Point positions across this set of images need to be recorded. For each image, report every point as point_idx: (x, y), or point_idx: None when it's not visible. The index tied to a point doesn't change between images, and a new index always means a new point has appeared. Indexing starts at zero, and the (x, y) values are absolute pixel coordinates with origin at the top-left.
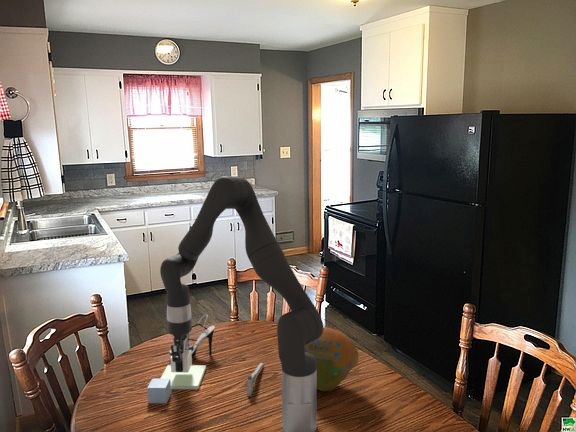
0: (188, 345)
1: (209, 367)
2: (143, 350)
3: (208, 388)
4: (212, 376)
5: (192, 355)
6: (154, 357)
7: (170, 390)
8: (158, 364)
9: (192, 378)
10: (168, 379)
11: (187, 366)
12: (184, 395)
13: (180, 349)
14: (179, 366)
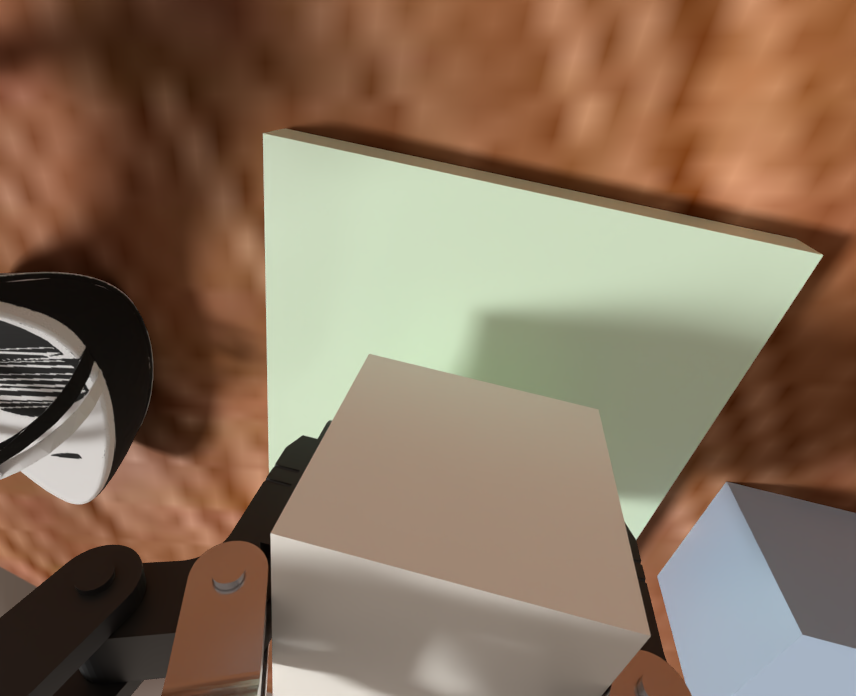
0: (114, 581)
1: (248, 80)
2: (59, 567)
3: (851, 88)
4: (503, 25)
5: (71, 306)
6: (130, 529)
7: (759, 516)
8: (223, 518)
9: (584, 315)
10: (817, 648)
11: (609, 480)
12: (849, 384)
13: (267, 665)
14: (642, 597)
